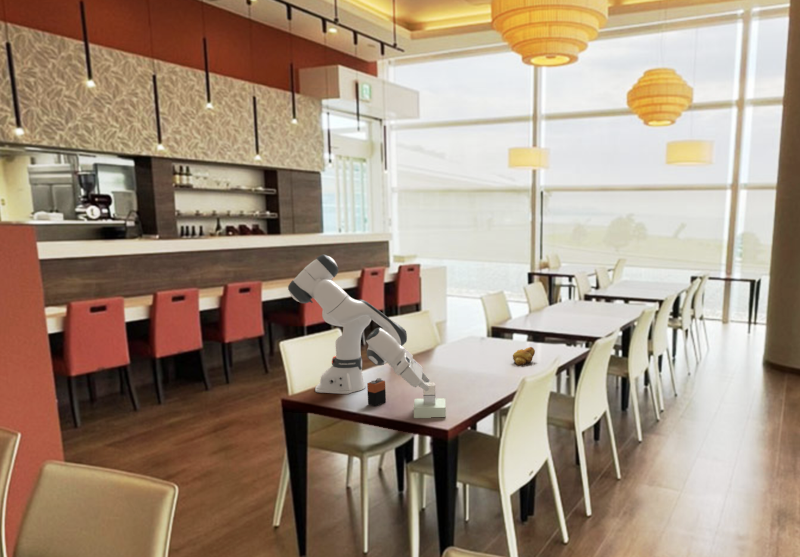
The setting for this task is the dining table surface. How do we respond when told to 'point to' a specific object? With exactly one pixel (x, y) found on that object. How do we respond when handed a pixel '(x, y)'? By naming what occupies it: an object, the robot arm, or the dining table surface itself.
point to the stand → (429, 409)
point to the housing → (430, 394)
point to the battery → (376, 392)
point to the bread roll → (523, 356)
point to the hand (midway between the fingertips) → (428, 385)
